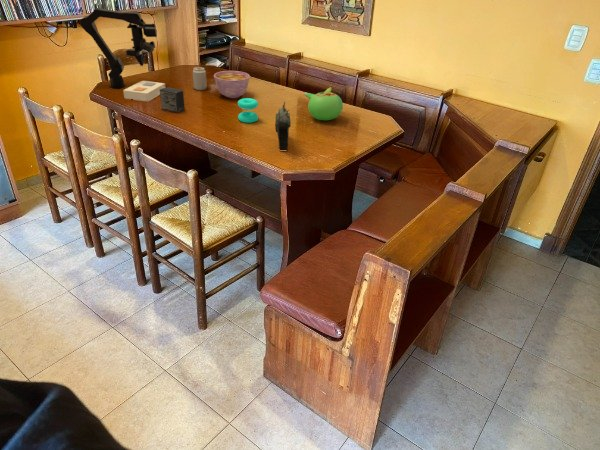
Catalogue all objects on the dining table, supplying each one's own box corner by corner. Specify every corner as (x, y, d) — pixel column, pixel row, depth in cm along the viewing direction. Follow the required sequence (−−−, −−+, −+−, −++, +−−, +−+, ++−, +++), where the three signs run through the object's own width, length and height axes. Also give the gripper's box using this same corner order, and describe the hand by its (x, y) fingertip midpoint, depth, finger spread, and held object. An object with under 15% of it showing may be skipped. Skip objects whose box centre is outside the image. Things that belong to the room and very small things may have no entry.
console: (124, 98, 243) (123, 90, 240) (143, 88, 259) (142, 80, 257) (148, 101, 241) (146, 93, 238) (165, 91, 257) (164, 83, 254)
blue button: (143, 90, 252) (142, 84, 250) (148, 88, 256) (147, 82, 254) (151, 91, 251) (150, 85, 249) (156, 89, 255) (155, 83, 253)
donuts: (252, 96, 226) (261, 102, 219) (252, 115, 231) (261, 121, 225) (234, 98, 221) (243, 105, 214) (235, 118, 227) (243, 124, 220)
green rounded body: (316, 126, 223) (318, 97, 215) (301, 115, 235) (302, 87, 227) (347, 122, 230) (350, 94, 222) (330, 111, 242) (332, 84, 234)
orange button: (134, 96, 244) (133, 89, 242) (139, 93, 248) (138, 87, 246) (142, 97, 243) (141, 90, 241) (147, 94, 247) (146, 88, 245)
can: (208, 87, 267) (207, 66, 260) (204, 91, 261) (203, 70, 254) (196, 86, 267) (194, 65, 261) (192, 90, 261) (190, 69, 254)
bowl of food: (208, 97, 251) (206, 76, 245) (226, 88, 267) (225, 68, 260) (239, 103, 245) (238, 82, 239) (255, 94, 261) (255, 74, 255)
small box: (185, 109, 233) (183, 89, 228) (177, 113, 228) (175, 93, 223) (169, 106, 237) (167, 86, 231) (161, 109, 232) (158, 89, 226)
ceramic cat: (290, 153, 195) (291, 108, 184) (275, 153, 194) (276, 108, 183) (287, 135, 211) (289, 93, 200) (273, 135, 211) (274, 93, 200)
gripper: (142, 41, 238) (146, 71, 246) (159, 35, 253) (162, 63, 261) (123, 39, 239) (128, 69, 248) (141, 33, 255) (145, 61, 263)
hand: (141, 65), depth 255 cm, fingers closed
